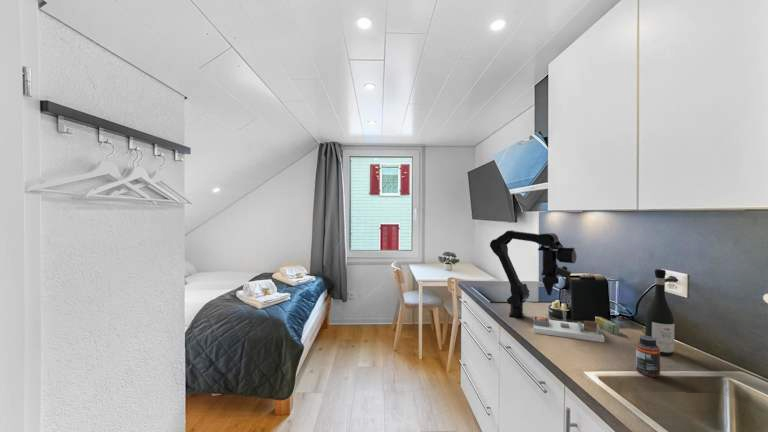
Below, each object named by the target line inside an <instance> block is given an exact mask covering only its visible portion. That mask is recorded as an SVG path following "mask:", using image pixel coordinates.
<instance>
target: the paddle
mask: <svg viewBox="0 0 768 432" xmlns="http://www.w3.org/2000/svg"><path fill="white" fill-rule="evenodd" d="M583 324H584V330H585V331H593V332H597V322H595V321H589V320H583Z"/></svg>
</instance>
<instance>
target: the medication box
mask: <svg viewBox="0 0 768 432" xmlns="http://www.w3.org/2000/svg"><path fill="white" fill-rule="evenodd" d="M594 319H595V320H594V322H597V324H598V325H599V327H600V329H601V330H604V331H606V332H608V333H610V334H612V335H614V336H618V335H619V336H620V326H621V325H619V324H617V323H615V322H613V321H610V320H608V319H607V318H604V317H603V316H595V318H594Z"/></svg>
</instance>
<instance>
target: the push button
mask: <svg viewBox="0 0 768 432" xmlns="http://www.w3.org/2000/svg"><path fill="white" fill-rule="evenodd" d="M546 318H547V317H543V316H536V320H538V321H546Z"/></svg>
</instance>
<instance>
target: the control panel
mask: <svg viewBox="0 0 768 432" xmlns="http://www.w3.org/2000/svg"><path fill="white" fill-rule="evenodd" d="M536 317H537V316H533V333H534V334H540V335H541V334H542V335H548V336H556V337H563V338H569V339H576V340H584V341H585V340H586V341H592V342H600V343H605V336H604V334H603V331H602V330H603V329H602V328H600V327H599V325H598V324H597V332H593V331H585V330H584V323H582V322H581V321H577V322H569V321H563V320H554V319H552V320H551V319H549V317H545V318H546V321H538V320H536Z"/></svg>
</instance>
